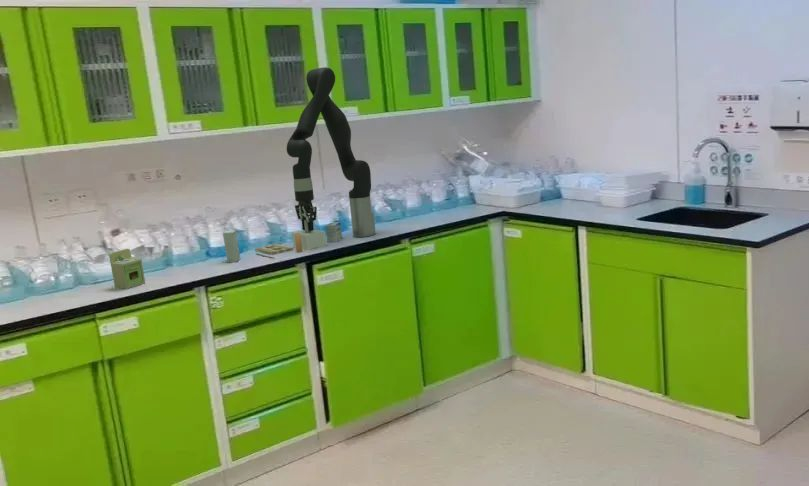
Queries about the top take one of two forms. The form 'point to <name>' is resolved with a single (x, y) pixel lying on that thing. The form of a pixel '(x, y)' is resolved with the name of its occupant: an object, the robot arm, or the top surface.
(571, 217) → the top surface
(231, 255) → the skincare box
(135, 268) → the toy sink
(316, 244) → the cover
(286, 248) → the build board
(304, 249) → the board
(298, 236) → the peg
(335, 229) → the medicine box
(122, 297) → the top surface
